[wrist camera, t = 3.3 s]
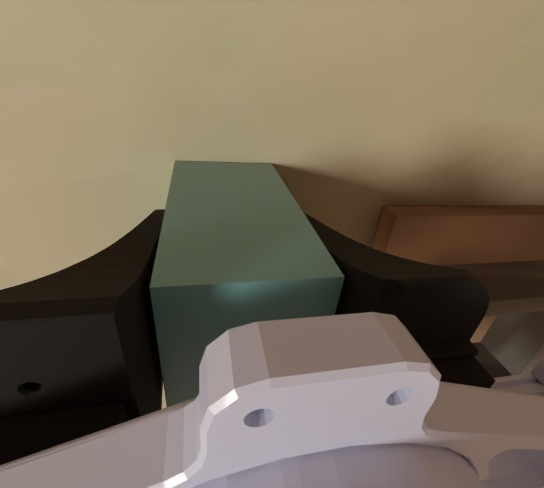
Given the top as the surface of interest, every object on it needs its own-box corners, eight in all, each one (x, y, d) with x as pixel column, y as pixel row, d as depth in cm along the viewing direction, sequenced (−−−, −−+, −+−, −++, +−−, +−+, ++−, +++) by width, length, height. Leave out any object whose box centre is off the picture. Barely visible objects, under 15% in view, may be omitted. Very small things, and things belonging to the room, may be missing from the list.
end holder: (488, 359, 26) (533, 407, 22) (331, 379, 23) (355, 439, 19) (592, 205, 19) (682, 241, 15) (384, 206, 16) (437, 251, 12)
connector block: (264, 242, 15) (314, 389, 9) (181, 245, 15) (167, 409, 8) (271, 163, 13) (344, 276, 7) (175, 160, 13) (149, 287, 6)
